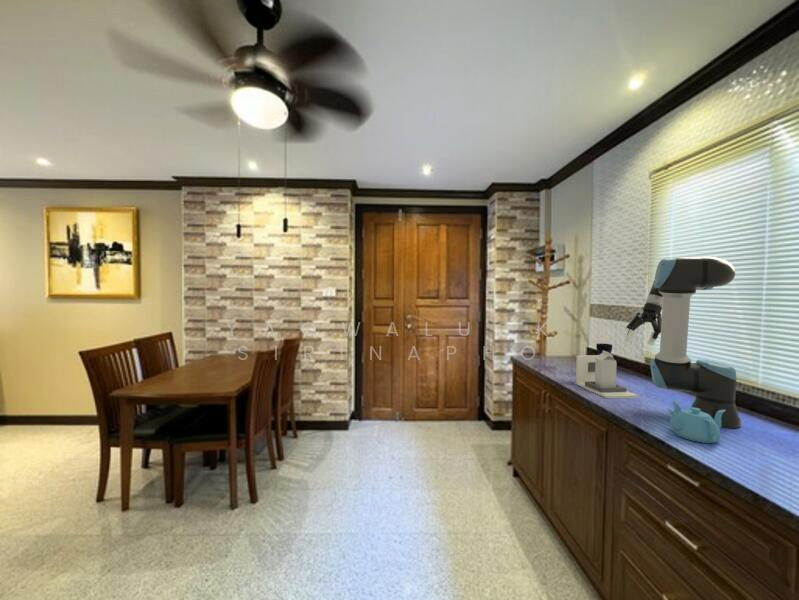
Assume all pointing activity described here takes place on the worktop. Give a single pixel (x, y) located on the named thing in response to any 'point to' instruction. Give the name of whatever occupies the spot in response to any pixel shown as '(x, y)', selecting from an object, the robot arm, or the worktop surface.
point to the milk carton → (605, 370)
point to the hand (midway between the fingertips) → (638, 343)
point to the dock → (587, 379)
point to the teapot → (695, 424)
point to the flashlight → (603, 348)
